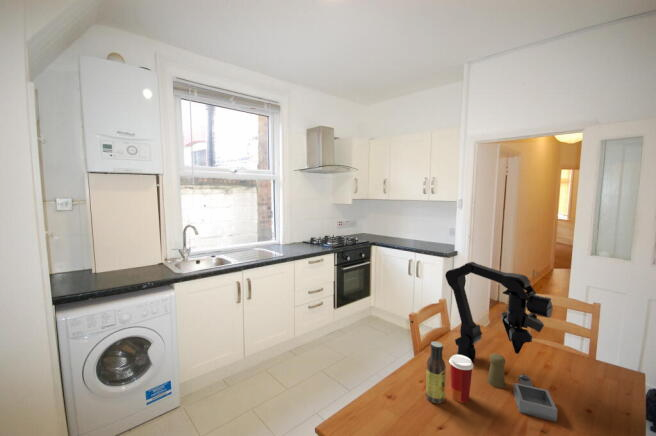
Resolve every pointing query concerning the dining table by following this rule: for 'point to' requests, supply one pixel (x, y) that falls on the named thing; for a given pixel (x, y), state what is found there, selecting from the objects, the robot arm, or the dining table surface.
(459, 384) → the paper cup
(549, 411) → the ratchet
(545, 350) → the dining table surface
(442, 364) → the sauce bottle
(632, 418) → the dining table surface
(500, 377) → the cork
